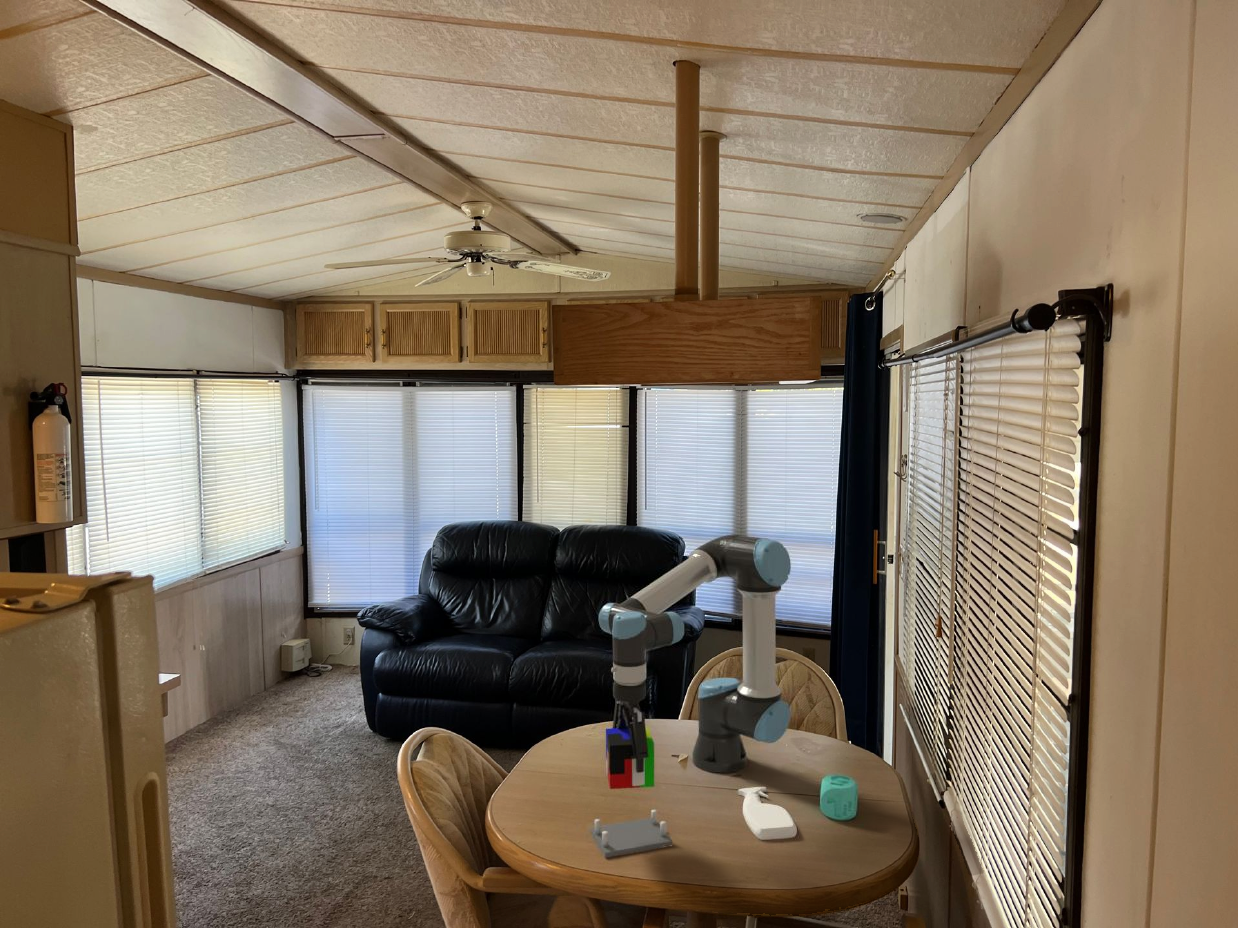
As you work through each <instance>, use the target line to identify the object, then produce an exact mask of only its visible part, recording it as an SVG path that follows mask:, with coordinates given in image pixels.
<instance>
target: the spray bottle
mask: <svg viewBox="0 0 1238 928" xmlns="http://www.w3.org/2000/svg"><path fill="white" fill-rule="evenodd" d="M766 791H767V787H766V786H757V787H756V786H754V787H745V788H740V789H737V793H738V794H737V795H738V796H742V797H744V799H743V804H742V814H743V818H744V820H745V823H746V824H747V826H748V828H749V830H751V832H752V834H754V835H755V837H756V838H757V839H758V840H761V841H767V840H781V839H783V840H785V839H791V838H795V837H796V836H797V833H798V830H797V829H798V828H797V825H796V824H795V821H794V820H793V818H792V816H791V815H790V813H789V811H787V810H786V809H785V808H784V807H782V806H780V805H776V804H773V803H772V804H771V803H763V802H762V801H761V799H760V798H761V797H764V798H767V799H768V798H769V795H768V794H766V793H764V792H766ZM760 796H761V797H760Z"/></svg>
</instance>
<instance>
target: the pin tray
mask: <svg viewBox="0 0 1238 928" xmlns="http://www.w3.org/2000/svg"><path fill="white" fill-rule="evenodd" d="M650 813H651V814H650V817H645V818H638V819H634V820H627V821H622V822H615V823H608V824H604V825H601V823H602V822H601V819H600V818H595V819H594V826H590V827H589V833H590V835H591V837H592V838H593V840H594V842H595V844H596V845H597V847H598V848H599V850H600V853H601V854H602V855H603V857H604V859H607V858H613V857H619V856H624V855H628V854H629V855H630V854H634V853H635V852H636V853H642V852H645V851H644V850H647V851H652V850H656V849H655V848H658V849H661V848H660V847H663V846H669V847H671V846H670V845H672V846H673V840H672V839H671V837H670V836H669V835H668V833H667V822H666V821H665V820H663V821H660V823H659V822H658V810H657V809H651V811H650ZM663 848H664V847H663ZM651 849H652V850H651ZM618 855H619V856H618Z"/></svg>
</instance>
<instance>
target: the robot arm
mask: <svg viewBox="0 0 1238 928" xmlns="http://www.w3.org/2000/svg"><path fill="white" fill-rule="evenodd" d="M791 565H792V563H791V556H790V553H789V552H788V550H787V548H786V547H785V546H784V545H783V543H781V542H779V541H777V540H773V539H769V538H766V537H757V536H748V535H740V534H727V535H723V536H720V537H717V538H714V539H712V540H709V541H707V542H706V543H704V544H702V545H700V546H698V547H697V548H696V549H694V550H692V551H691V552H690V553H689V555H688V558H687V559H686V560H684V561H682V562H681V563H679V564H678V565H677V566H675V567H674V568H671V570H669V571H668V572H666V573H664V574H663V575H662V576H660V577H659V578H657V579H655V580H654V581H653V582H651V583H649V585H647V586H646V587H644V588H642V589H641V590H640V591H638V592H636V593H635V594H633V595H632V596H631V597H629V598H628V599H626V600H625V601H623V602H621V603H617V602H608V603H606V604H605V605H603V606H602V608H601V609H600V610H599V613H598V623H599V624H598V625H599V627H600V628H601V630H602V631H603V632H605V633H608V634H610V635H612V665H613V666H612V667H611V670H610V672H611V673H612V674H613V675H612V676H613V677H612V678H613V680H614V681H613V682H612V696H613V698H614V699H615V700H614V701H615V704H614V714H613V720H612V721H613V722H612V728H618V729H623V728H629V732H630V738H631V743H632V749H633V754H634V756H631V759H632V785H633V786H639V785H645V758H648V757H649V754H648V746H647V737H646V728H645V727H646V713H645V711H644V710H643V711H642V710H641V707H640V702H641V701H643V700H644V699H645V698H646V697H647V683H646V679H647V652H649V651H652V650H656V649H660V648H663V647H664V648H665V647H667V646H668V647H669V646H671V645H673V644H675V643H678V642H680V641H681V640H682V639H683V637H684V635H685V624H684V620H683V618H682V617H681V616H680V615H679V614H678V613H676V612H674V611H666V610H667V609H668V608H670V607H671V606H672V605H674V604H676V603H677V602H679V601H680V600H681V599H683V598H684V597H686V596H687V595H688V594H690V593H691V592H693V591H694V590H697V588H698V587H700V586H702V584H704V583H712V582H713V581H715V580H717V579H718V578H720V579H721V578H732V579H736V590H737V591H738V592H739V593H740V594H741V595H742V683H741V681H740V679H738V678H735V677H716V678H710V679H706V680H705V681H702V682H701V683H700V685H699V686H698V696H697V702H698V703H697V704H698V705H697V707H698V708H697V709H698V711H697V712H698V713H697V715H698V735H697V738H696V741H695V744H694V746H693V750H692V754H691V755H692V756H691V757H692V759H691V760H692V761H691V762H692V763H693V764H694V765H695V766H696V767H697V768H699V769H701V770H703V771H707V772H713V773H730V772H736V771H739V770H742V769H743V768H745V767H746V765H747V763H748V761H747V760H748V759H747V757H748V755H747V752H746V748H745V746H744V742H743V738H742V736H745V737H747V738H750V739H752V740H755V741H756V742H763V743H767V744H773V743H775V742H777V741H779V740H780V739H781V738H782V737H783V736H784V735H785V733H786V731H787V729H788V726H789V724H790V721H791V715H792V711H791V706H790V705H789V704H788V703H787V702H786V701H785V700H783V699H782V688H781V687H780V686H779V685H778V684H777V683H776V597H777V595H778V594H779V593H780V592H781V591H782V586H784V584H785V583H786V582H788V579H789V575H790V574H791V571H792V570H791V568H792V566H791ZM741 735H742V736H741Z"/></svg>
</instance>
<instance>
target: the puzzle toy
mask: <svg viewBox="0 0 1238 928" xmlns="http://www.w3.org/2000/svg"><path fill="white" fill-rule="evenodd" d="M645 728H646V737H647V746H648V754H649V757H648V758H645V785H639V786H633V785H632V759H631V756H634V754H633V749H632V743H631V738H630V732H629V728H623V729H618V728H613V727H611V728H605V767H606V768H605V769H606V770H605V771H606V776H607V781H608V785H609V786H608V787H609V789H610V790H616V789H617V790H620V789H635V788H637V789H638V788H640V789H641V788H655V742H654V739H653V736H652V734H651V731H650V728H649V726H645Z"/></svg>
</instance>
